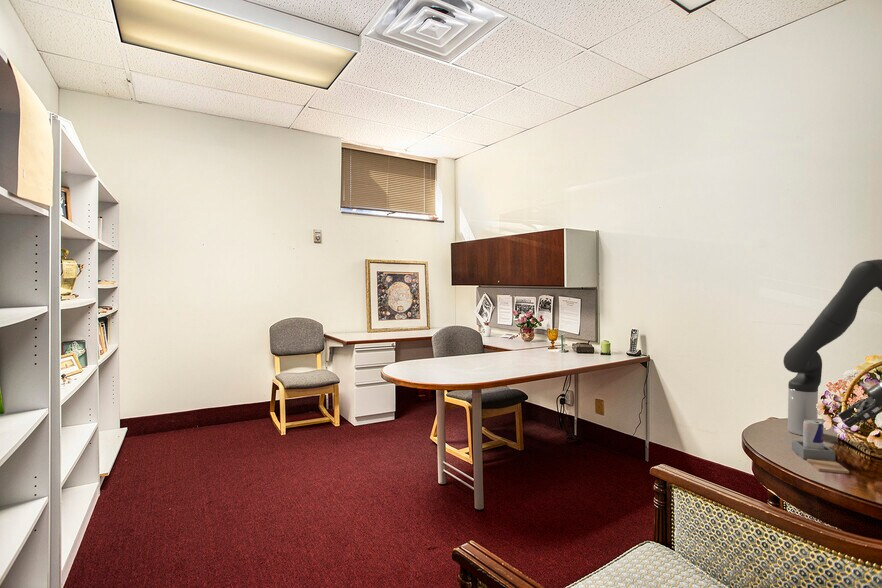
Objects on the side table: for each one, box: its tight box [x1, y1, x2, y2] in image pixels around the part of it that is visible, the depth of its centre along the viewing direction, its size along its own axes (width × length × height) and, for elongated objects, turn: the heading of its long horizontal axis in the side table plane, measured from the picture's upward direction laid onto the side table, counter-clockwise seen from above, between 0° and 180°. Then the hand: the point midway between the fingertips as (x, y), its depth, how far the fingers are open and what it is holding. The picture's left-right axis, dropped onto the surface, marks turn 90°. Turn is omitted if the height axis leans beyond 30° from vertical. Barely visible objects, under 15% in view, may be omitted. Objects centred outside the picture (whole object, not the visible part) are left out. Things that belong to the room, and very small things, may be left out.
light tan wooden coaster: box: [806, 459, 850, 474], centre depth 151 cm, size 8×8×1 cm
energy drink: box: [802, 419, 824, 450], centre depth 160 cm, size 5×5×12 cm
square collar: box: [791, 439, 836, 461], centre depth 160 cm, size 9×9×4 cm
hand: (843, 421), depth 156 cm, fingers open, 8 cm apart
